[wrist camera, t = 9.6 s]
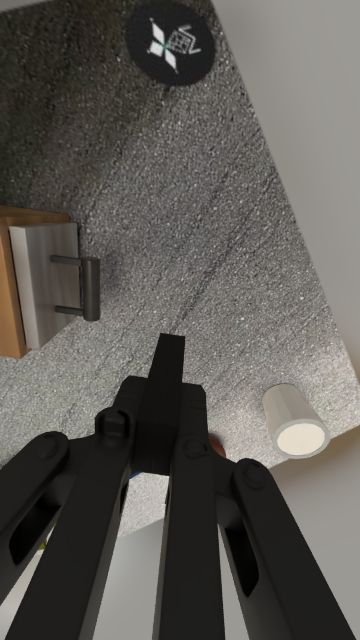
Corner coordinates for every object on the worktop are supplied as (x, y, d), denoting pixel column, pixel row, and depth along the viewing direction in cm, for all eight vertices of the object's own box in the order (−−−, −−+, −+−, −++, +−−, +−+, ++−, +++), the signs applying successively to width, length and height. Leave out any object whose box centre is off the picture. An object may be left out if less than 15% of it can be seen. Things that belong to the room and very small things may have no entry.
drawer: (117, 228, 26) (83, 236, 18) (115, 318, 30) (87, 356, 22) (-40, 205, 26) (-147, 203, 18) (-20, 298, 30) (-98, 330, 22)
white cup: (278, 423, 38) (295, 467, 31) (248, 399, 36) (259, 440, 29) (316, 399, 35) (343, 440, 29) (286, 371, 34) (307, 409, 27)
